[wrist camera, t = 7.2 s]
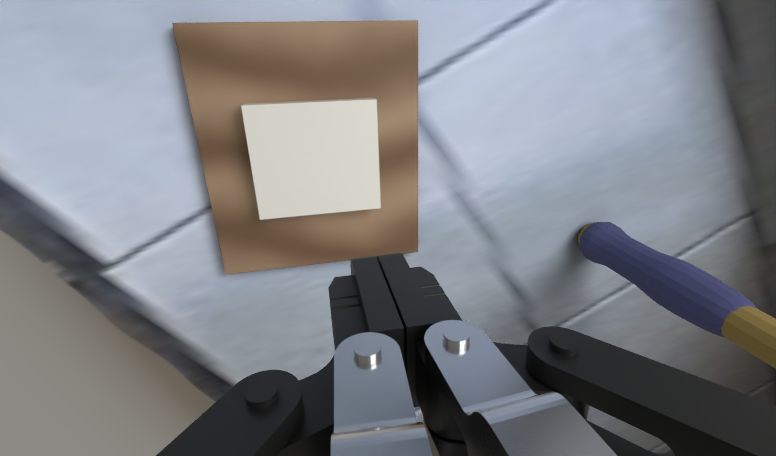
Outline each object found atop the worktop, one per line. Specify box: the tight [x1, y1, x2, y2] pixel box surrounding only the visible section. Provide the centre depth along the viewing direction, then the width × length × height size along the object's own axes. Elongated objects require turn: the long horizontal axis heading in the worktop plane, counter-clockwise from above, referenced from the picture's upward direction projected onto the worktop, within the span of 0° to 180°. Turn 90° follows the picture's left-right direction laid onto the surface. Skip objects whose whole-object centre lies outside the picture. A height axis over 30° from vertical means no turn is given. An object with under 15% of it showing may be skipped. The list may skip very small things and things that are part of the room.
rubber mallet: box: [577, 222, 776, 368], centre depth 25 cm, size 12×8×30 cm, turn 41°
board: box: [172, 20, 418, 274], centre depth 30 cm, size 18×16×1 cm
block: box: [241, 98, 381, 220], centre depth 29 cm, size 8×2×9 cm
